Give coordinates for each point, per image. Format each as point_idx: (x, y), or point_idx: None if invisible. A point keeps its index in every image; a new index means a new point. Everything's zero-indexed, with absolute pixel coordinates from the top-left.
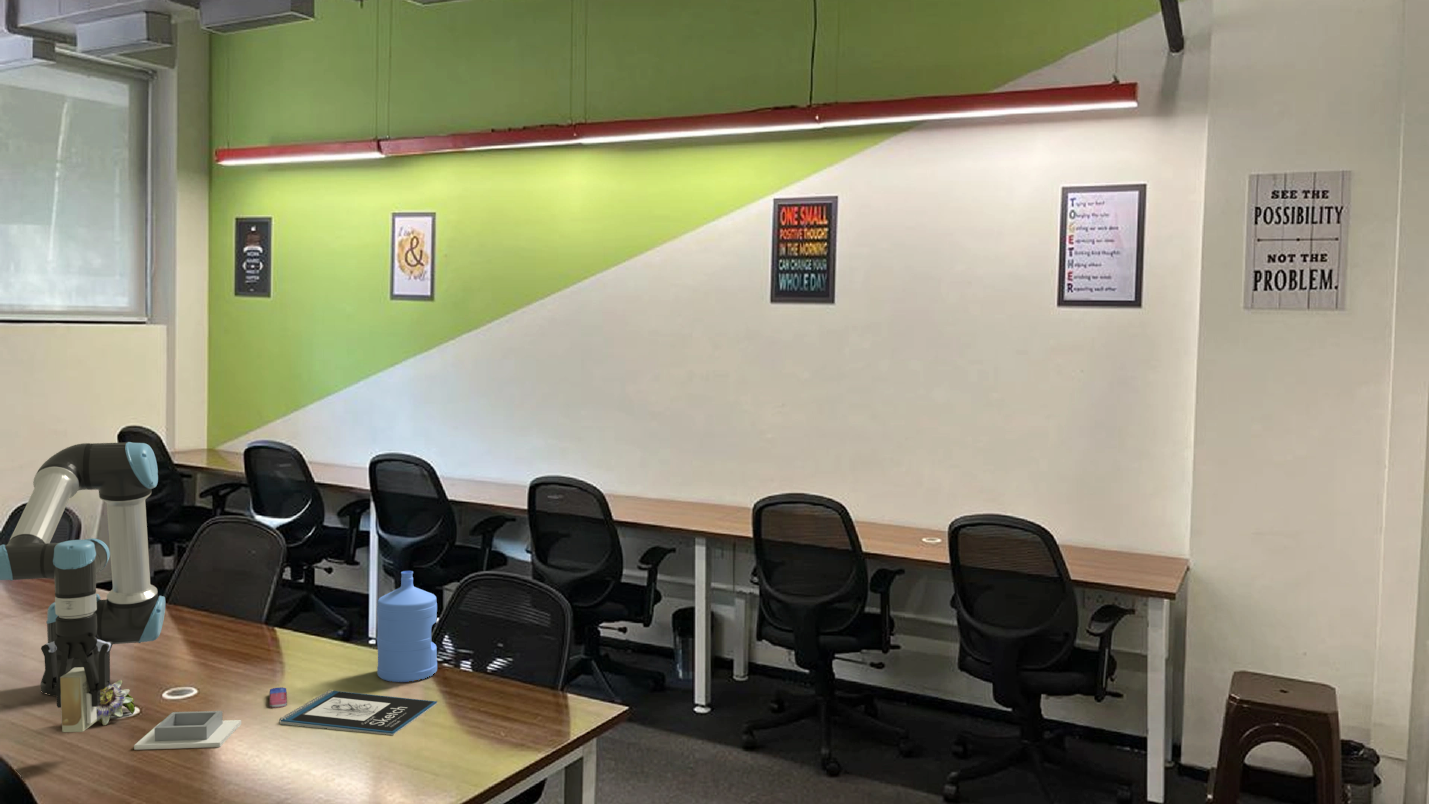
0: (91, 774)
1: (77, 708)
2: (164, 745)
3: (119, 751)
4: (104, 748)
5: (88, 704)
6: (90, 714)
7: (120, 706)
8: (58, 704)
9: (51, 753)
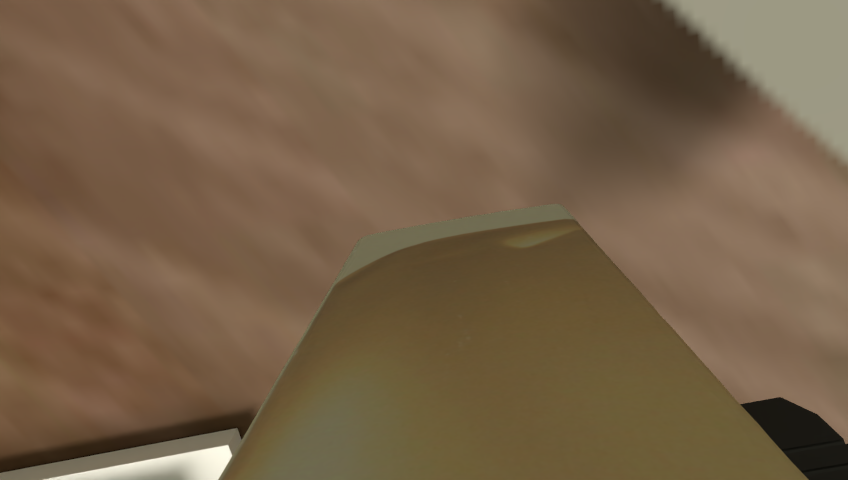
0: (205, 24)
1: (359, 323)
2: (54, 472)
3: None
4: None
5: None
6: None
7: None
8: (796, 428)
9: (727, 317)
